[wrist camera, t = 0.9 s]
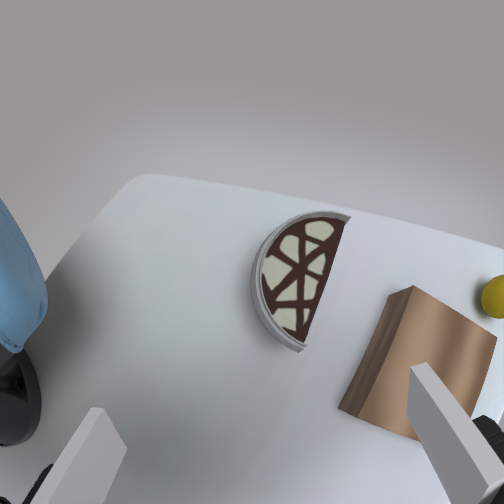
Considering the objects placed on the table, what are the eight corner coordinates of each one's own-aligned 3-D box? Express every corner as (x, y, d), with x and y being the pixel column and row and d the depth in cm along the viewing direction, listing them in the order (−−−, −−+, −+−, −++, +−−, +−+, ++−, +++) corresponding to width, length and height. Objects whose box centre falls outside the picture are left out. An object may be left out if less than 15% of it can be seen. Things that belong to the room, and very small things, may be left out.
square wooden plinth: (336, 407, 31) (356, 417, 25) (387, 295, 35) (413, 285, 29) (426, 442, 30) (454, 452, 24) (467, 341, 34) (497, 337, 28)
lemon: (490, 278, 36) (527, 263, 29) (499, 315, 35) (538, 305, 27) (466, 288, 36) (506, 273, 28) (475, 327, 34) (516, 319, 26)
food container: (271, 226, 36) (285, 182, 27) (322, 247, 36) (352, 211, 26) (227, 329, 33) (226, 321, 23) (282, 352, 32) (304, 352, 23)
